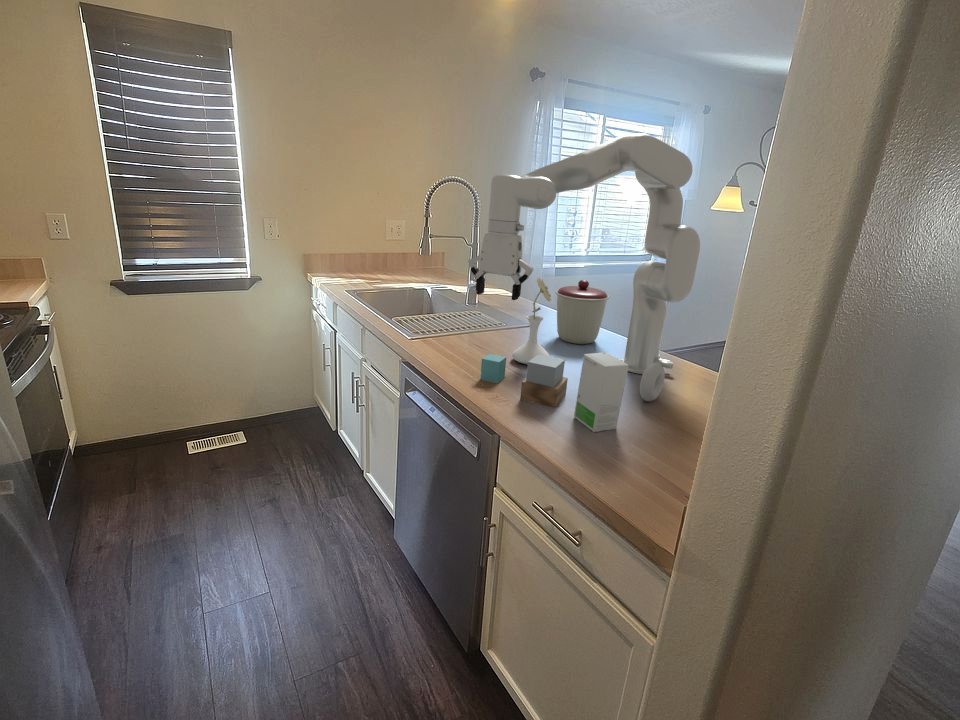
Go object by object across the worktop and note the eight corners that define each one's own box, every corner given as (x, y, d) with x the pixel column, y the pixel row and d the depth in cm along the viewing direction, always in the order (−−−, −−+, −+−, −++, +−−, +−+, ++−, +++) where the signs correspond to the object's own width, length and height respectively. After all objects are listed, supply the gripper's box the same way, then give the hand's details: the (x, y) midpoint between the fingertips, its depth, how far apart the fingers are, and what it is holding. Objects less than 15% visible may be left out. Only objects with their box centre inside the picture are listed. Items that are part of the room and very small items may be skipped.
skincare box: (573, 417, 119) (581, 353, 114) (596, 414, 122) (605, 351, 117) (594, 433, 112) (604, 365, 107) (619, 429, 115) (630, 363, 110)
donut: (650, 393, 136) (656, 357, 133) (662, 397, 134) (669, 360, 131) (634, 403, 129) (640, 366, 126) (647, 408, 127) (654, 369, 124)
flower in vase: (548, 370, 149) (557, 284, 141) (509, 365, 151) (516, 280, 142) (551, 356, 161) (560, 276, 153) (515, 352, 163) (522, 273, 155)
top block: (562, 378, 129) (564, 360, 128) (553, 387, 123) (555, 367, 122) (536, 373, 132) (538, 354, 130) (526, 381, 126) (527, 361, 124)
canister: (539, 336, 182) (545, 276, 175) (575, 330, 192) (582, 274, 186) (577, 351, 168) (585, 286, 162) (613, 343, 179) (622, 283, 172)
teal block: (504, 377, 141) (506, 357, 139) (497, 383, 137) (499, 362, 135) (487, 374, 143) (489, 353, 141) (480, 379, 139) (481, 358, 137)
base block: (565, 396, 132) (567, 377, 130) (555, 408, 124) (557, 389, 122) (532, 388, 135) (533, 371, 133) (520, 400, 127) (521, 381, 126)
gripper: (541, 230, 127) (534, 299, 132) (477, 224, 133) (473, 289, 139) (531, 232, 120) (524, 304, 126) (464, 225, 127) (460, 293, 132)
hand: (497, 296), depth 132 cm, fingers open, 9 cm apart
